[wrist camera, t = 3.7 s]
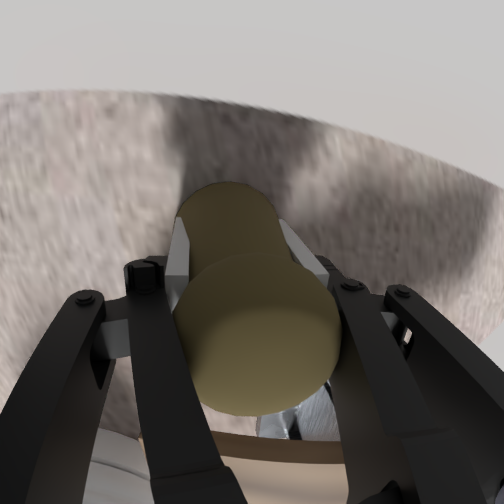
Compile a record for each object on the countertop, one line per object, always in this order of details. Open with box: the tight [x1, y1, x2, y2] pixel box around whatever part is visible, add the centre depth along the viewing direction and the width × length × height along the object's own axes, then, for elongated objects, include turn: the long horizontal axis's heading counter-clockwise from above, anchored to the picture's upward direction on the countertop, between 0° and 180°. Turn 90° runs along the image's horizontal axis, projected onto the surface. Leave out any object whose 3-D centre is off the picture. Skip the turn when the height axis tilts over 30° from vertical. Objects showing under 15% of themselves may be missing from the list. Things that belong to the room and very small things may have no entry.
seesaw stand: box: [256, 379, 341, 441], centre depth 19 cm, size 12×8×10 cm
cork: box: [172, 182, 343, 416], centre depth 13 cm, size 6×6×11 cm
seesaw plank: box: [138, 430, 349, 504], centre depth 15 cm, size 9×24×2 cm, turn 86°
